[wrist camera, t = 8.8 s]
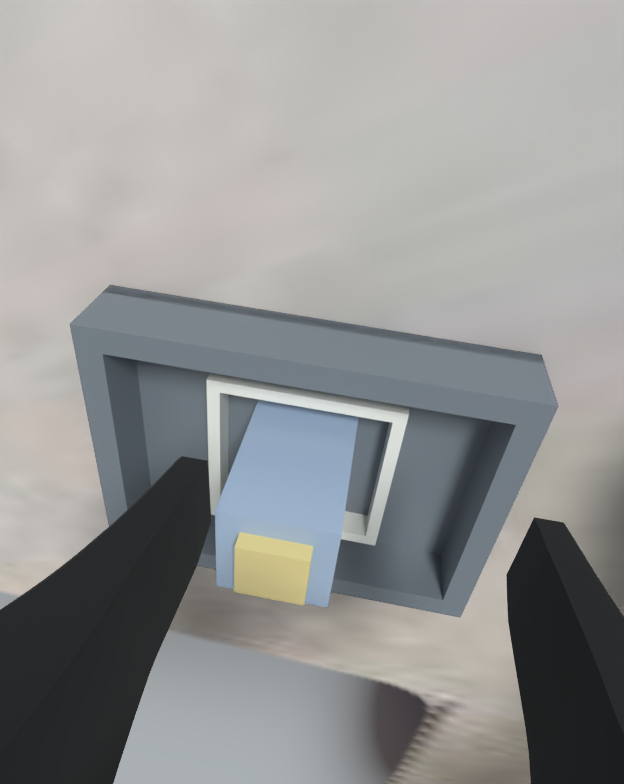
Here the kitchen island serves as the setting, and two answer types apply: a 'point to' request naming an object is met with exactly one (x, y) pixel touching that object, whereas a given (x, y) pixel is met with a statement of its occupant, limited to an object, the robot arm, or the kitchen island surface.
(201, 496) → the robot arm
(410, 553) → the dock
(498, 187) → the kitchen island surface
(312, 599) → the plug
